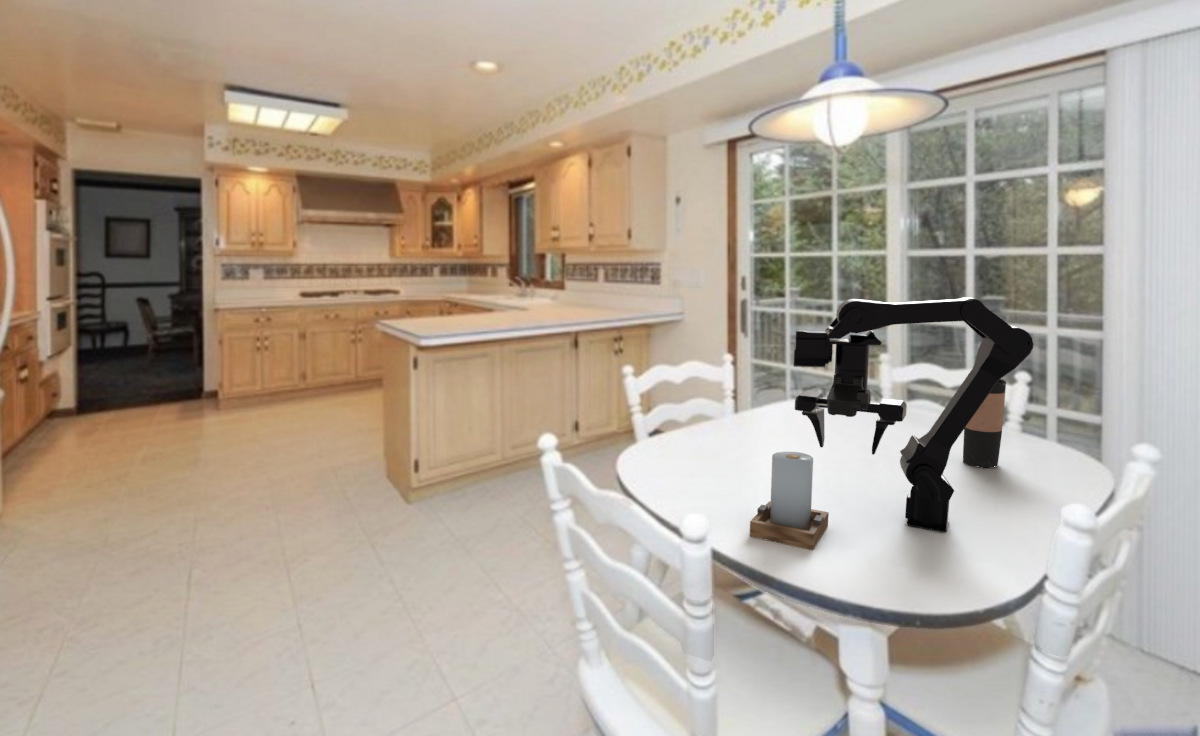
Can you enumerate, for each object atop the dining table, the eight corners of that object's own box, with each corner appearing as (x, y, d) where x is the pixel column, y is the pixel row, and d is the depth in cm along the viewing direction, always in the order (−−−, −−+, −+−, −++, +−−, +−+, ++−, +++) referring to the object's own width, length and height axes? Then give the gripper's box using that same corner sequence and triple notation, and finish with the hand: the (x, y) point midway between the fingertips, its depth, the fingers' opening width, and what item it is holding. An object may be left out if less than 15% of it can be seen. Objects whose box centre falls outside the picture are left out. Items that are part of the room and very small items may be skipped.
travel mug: (956, 457, 157) (962, 376, 153) (990, 458, 156) (997, 377, 152) (969, 468, 149) (976, 383, 146) (1005, 469, 148) (1013, 383, 145)
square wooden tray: (828, 526, 119) (829, 508, 118) (813, 550, 109) (814, 530, 109) (768, 514, 124) (768, 497, 124) (749, 536, 115) (749, 517, 115)
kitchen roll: (806, 519, 120) (808, 450, 118) (814, 535, 113) (817, 462, 111) (767, 518, 121) (769, 450, 119) (773, 533, 114) (775, 461, 112)
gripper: (787, 371, 117) (784, 454, 119) (900, 380, 107) (895, 470, 110) (804, 362, 126) (801, 439, 129) (909, 369, 116) (903, 453, 119)
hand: (847, 450), depth 121 cm, fingers open, 9 cm apart
